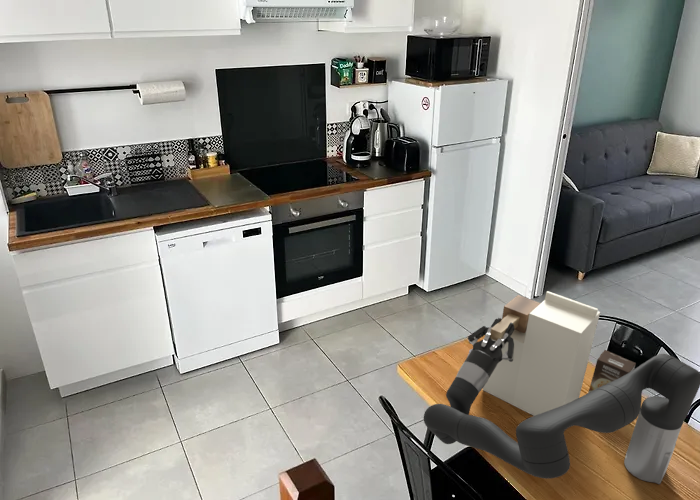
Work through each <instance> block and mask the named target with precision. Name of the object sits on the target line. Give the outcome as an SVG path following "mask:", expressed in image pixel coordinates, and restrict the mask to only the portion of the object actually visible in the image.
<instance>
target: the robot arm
mask: <svg viewBox="0 0 700 500" xmlns="http://www.w3.org/2000/svg"><path fill="white" fill-rule="evenodd" d="M501 320H502V318H501V317H498V318H496V319H494V321H493V322H492V324H491V325H490V326H489V327H488V326H487V327H486V326H485V325H482V326H481V327H479V328H478V329H477V330H475V331H474V332H472V333H471V334H469V335H468V336H467V340H468V343H469V344H470V345H472V348H471V349H472V351H471V352H470V354H469V353H468V354H469V355H468V354H467V356H468V357H466V358H465V360H464V361H463V363H462V365H461V367H460V368H459V369H458V371H457V373H456V375H455V378H454V379H453V381H452V383H451V384H450V386H449V387H448V388H447V390H446V394H445V396H446V399H447V401H448V403H449V405H450V406H449V405H448V404H445V403H435V404H432V405H430V406H429V407H427V408H426V410H425V411H424V414H423V422H424V425H425V426H426V428H427V429H428V430H430V432H431V433H432V434H433V435H435V436H436V437H437V438H438V440H439V441H441V443H443V444H446V445H452V444H454V443H456V442H457V443H459V444H462V445H464V446H466V447H467V446H468V447H470V448H474V449H477V450H481V451H484V452H486V453H488V454H490V455H492V456H494V457H496V458H498V459H500V460H501V461H503V462H505V463H506V464H508V465H511V466H513V467H514V468H516V469H518V470H520V471H521V472H524V473H526V474H528V475H530V476H532V477H536V478H539V479H546V480H547V479H555V478H559V477H562V476H563V475H566V474H567V473H568V471H569V470H570V467H571V461H570V454H569V450H568V446H567V441H566V437H565V431H566V430H568V429H570V428H571V427H574V426H577V427H581V428H585V429H588V430H591V431H593V432H597V433H602V434H608V433H609V434H610V433H615V432H616V431H619V430H620V429H622V428H624V427H626V426H627V425H629V424H632V423H633V422H634V421H636V423H635V424H634V428H633V431H632V434H631V438H630V441H629V444H628V446H627V451H626V454H625V457H624V460H623V461H624V466H625V468H626V469H627V471H628V472H629V473H630V474H631V475H632V476H634V477H636V478H637V479H639V480H642V481H643V482H644V481H645V482H648V483H655V484H658V485H661V483H662V481H663V479H664V477H665V475H666V473H667V471H668V467H669V464H670V461H671V459H672V456H673V453H674V451H675V448H676V445H677V441H678V438H679V434H680V432H681V430H682V427H683V424H684V421H685V419H686V417H688V415H689V412H690V410H691V407H692V404H693V402H694V400H695V398H696V395H697V394H698V391H699V389H700V371H699V370H697V369H696V368H694V367H692V366H690V365H689V364H687V363H686V362H683V361H681V360H680V359H678V358H676V357H675V356H672V355H671V354H669V353H668V354H667V353H660V354H656V355H655V356H652V357H651V358H649V359H648V360H646V361H645V362H643V363H641V364H639V366H637V367H636V368H634V370H633V371H631V372H629V373H628V374H626V375H624V376H622V377H620V378H618V379H616V380H614V381H612V382H610V383H608V384H605V385H603V386H601V387H599V388H597V389H595V390H593V391H591V392H589V391H588V392H589V393H588V392H587V393H585V394H584V395H581V396H579V398H578V399H576V400H574V401H572V402H570V403H567V404H565V405H563V406H560V407H557V408H555V409H552V410H549V411H546V412H544V413H541V414H538V415H535V416H533V415H532V416H530V417H529V418H526V419H525V420H522V421H521V422H520V423H519V424H517V426H516V429H515V437H516V440H514V439H513V438H512V437H511V436H509V435H508V433H506V432H505V431H504V430H503V429H501V428H500V426H498V425H496V424H495V423H494V422H493V421H491V420H490V419H487V418H485V417H481V416H476V415H473V414H470V412H471V407H472V404H473V403H474V402H475V401H476V399H477V397H478V395H479V394H480V392H481V391H483V387H484V386H485V384H486V383H487V382H488V379H489V378H490V376H491V374H492V373H493V371H494V369H495V368H496V366H497V364H498V363H499V362H500V361H502V359H504V360H509V361H510V362H512V361H513V354H514V341H513V338H511V335H512V333H513V332H514V329H515V328H514V324H513V323H510V324H509V326H508V328H507V329H506V331H505V334H504V335H503V336H502V337H501V338H499V339H498V340H497V341H493V340H492V339H491V338H490V336H491V334H490V332H491V328H493V327H494V326H495V325H496V324H497V323H499V322H500V321H501ZM481 338H483V339H481ZM480 339H481V340H480ZM507 342H508V351H506V352H505V354H504V355H502V349H503V348H504V346H505V344H506V343H507ZM646 389H650V390H652V391H654V392H656V393H658V394H659V395H661V396H658V395H657V396H655V395H654V396H649V397H646V398H645V399H644V400H643V401H642V394H643V391H644V390H646Z"/></svg>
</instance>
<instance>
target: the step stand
mask: <svg viewBox="0 0 700 500" xmlns="http://www.w3.org/2000/svg"><path fill="white" fill-rule="evenodd" d="M540 303H541V304H539V305H538V306H537V307H536V308H535V309H534V310H533V311H532V312H531V313H529V319H528V324H527V330H526V332H525V333H522V332H519V331H517V330H515V329H514V332H513V333H512V335H511V338H513V341H514V354H513V361H512V362H510V361H509V360H504V359H502V361H500V362H499V363H498V364H497V366H496V368H495V369H494V371H493V373H492V374H491V376H490V378H489V379H488V382H487V383H486V384H485V386H484V387H483V388H482V391H483V392H486V393H487V394H490V395H492V396H494V397H496V398H498V399H499V400H501V401H504V402H506V403H508V404H510V405H512V406H514V407H516V408H518V409H520V410H521V411H524V412H525V413H527V414H529V415H532V417H533V416H535V415H538V414H541V413H544V412H546V411H549V410H552V409H555V408H557V407H560V406H563V405H565V404H567V403H570V402H572V401H574V400H576V399H578V398H580V397H581V396H580V395H581V393H582V387H583V383H584V379H585V376H586V372H587V368H588V363H589V359H590V355H591V352H592V351H591V350H592V348H593V347H592V346H593V343H594V339H595V335H596V331H597V327H598V323H599V319H600V315H601V311H599V308H597V307H594V306H592V305H588V304H585V303H584V302H580V301H577V300H574V299H573V298H572V299H571V298H569V297H566V296H563V295H560V294H557V293H554V292H551V291H549V290H547V291H546V292H545V297H544V300H543V301H542V302H540ZM492 340H493V339H492ZM493 341H495V340H493ZM506 351H508V342H507V343H506V344H505V346H504V348H503V349H502V355H504V354H505V352H506Z"/></svg>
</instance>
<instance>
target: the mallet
mask: <svg viewBox="0 0 700 500" xmlns="http://www.w3.org/2000/svg"><path fill="white" fill-rule="evenodd" d="M541 303H542V302H539V301H535V300H533V299H530V298H527V297H525V296H522V295H519V294H517V295H516V296H515V297H514V298H512V299H511V300H510V301H509V302H507V303H506V304H505V305H504V306H503V311H502V315H501V316H502V318H501V319H502V320H501V321H500V322H499V323H497V324H496V325H495V326H494V327H493V328H491V332H490V334H491V336H490V338H491V339H493V340H495V341H497V340H498V339H499V338H501V337H502V336H503V335H504V334H505V331H506V329H507V328H508V326H509V324H510V323H513V324H514V328H515V330H517V331H519V332H522V333H525V332H526V330H527V324H528V319H529V313H531V312H532V311H533V310H534V309H535V308H536V307H537V306H538V305H539V304H541Z"/></svg>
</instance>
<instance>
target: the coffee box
mask: <svg viewBox="0 0 700 500" xmlns="http://www.w3.org/2000/svg"><path fill="white" fill-rule="evenodd" d="M636 364H637V363H636V362H634V361H632V360H629V359H627V358H624V357H623V356H621V355H618V354H616V353H614V352H611V351H609V350H606V349H604V350H603V351H602V353H601V354H600V355H599V357H598V358H597V360H596V363H595V368H594V370H593V375H592V378H591V382H590V385H589V388H588V392H587V393H589V392H591V391H593V390H595V389H597V388H599V387H601V386H603V385H605V384H608V383H610V382H612V381H614V380H616V379H618V378H620V377H622V376H624V375H626V374H628V373H629V372H631V371H633V370H634V369H636V368H635V367H636Z"/></svg>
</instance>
